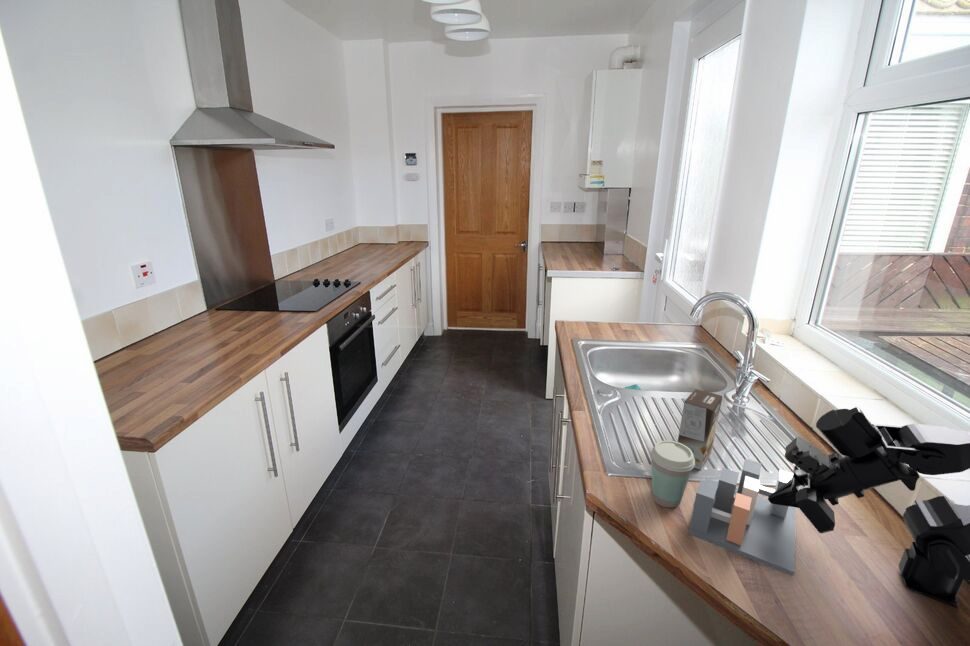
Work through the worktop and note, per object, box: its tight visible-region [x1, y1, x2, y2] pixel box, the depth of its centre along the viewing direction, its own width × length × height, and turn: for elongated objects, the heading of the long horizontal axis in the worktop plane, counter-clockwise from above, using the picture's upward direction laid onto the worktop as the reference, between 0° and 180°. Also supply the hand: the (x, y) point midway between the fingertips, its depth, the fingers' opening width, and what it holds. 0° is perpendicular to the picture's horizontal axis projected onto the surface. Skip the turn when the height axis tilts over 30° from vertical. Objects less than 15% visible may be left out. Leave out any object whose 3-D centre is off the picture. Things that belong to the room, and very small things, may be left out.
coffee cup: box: [650, 440, 695, 508], centre depth 94 cm, size 8×8×12 cm
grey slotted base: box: [688, 458, 797, 577], centre depth 88 cm, size 17×18×9 cm
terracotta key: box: [711, 493, 752, 545], centre depth 84 cm, size 7×4×8 cm, turn 56°
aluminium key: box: [758, 469, 793, 518], centre depth 91 cm, size 7×4×8 cm, turn 56°
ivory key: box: [715, 476, 761, 525], centre depth 89 cm, size 7×4×8 cm, turn 56°
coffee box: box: [677, 388, 723, 470], centre depth 107 cm, size 9×6×16 cm
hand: (769, 500), depth 85 cm, fingers closed
